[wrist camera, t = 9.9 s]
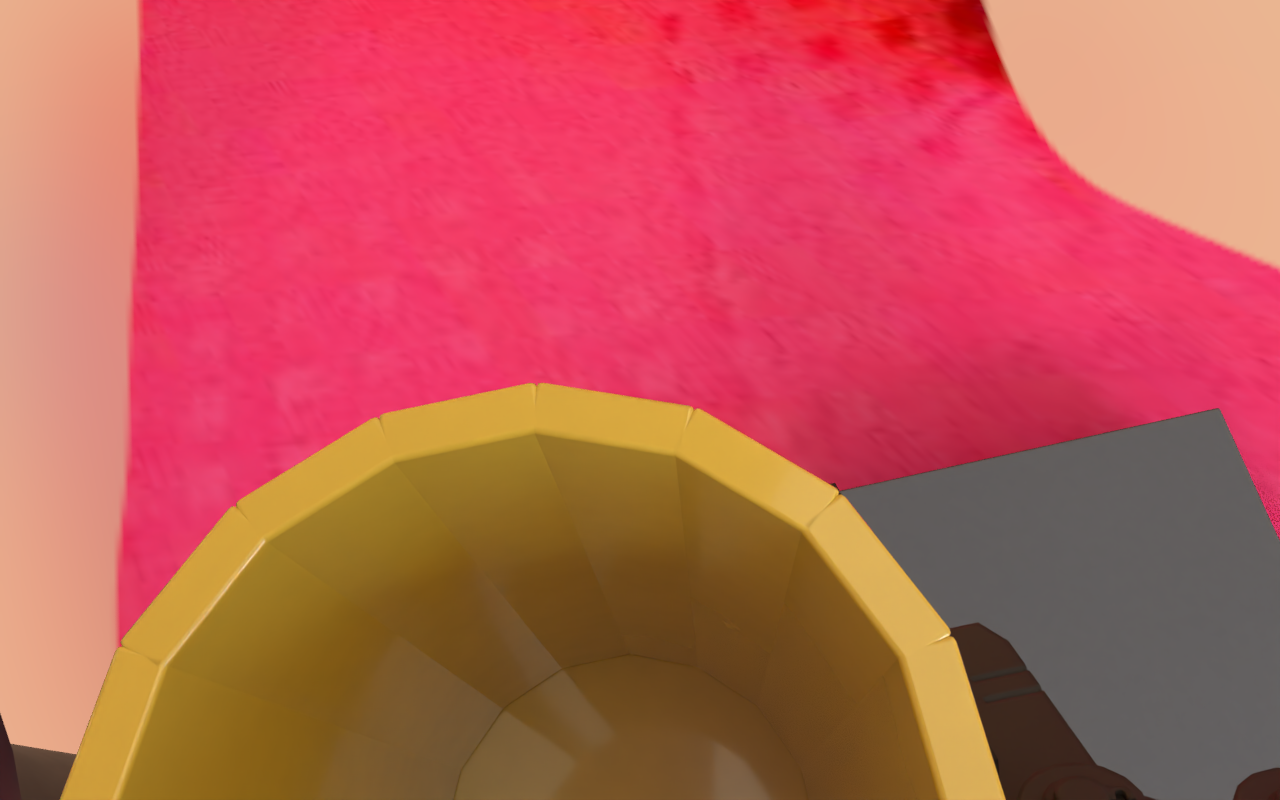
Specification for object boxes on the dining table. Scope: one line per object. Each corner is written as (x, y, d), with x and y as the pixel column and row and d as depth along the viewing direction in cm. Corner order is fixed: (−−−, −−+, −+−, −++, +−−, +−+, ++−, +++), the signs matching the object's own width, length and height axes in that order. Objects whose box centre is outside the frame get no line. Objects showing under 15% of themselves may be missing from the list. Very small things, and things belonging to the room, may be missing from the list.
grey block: (889, 1003, 31) (912, 1022, 28) (768, 540, 37) (773, 504, 33) (1359, 895, 32) (1444, 900, 28) (1169, 451, 37) (1219, 406, 33)
